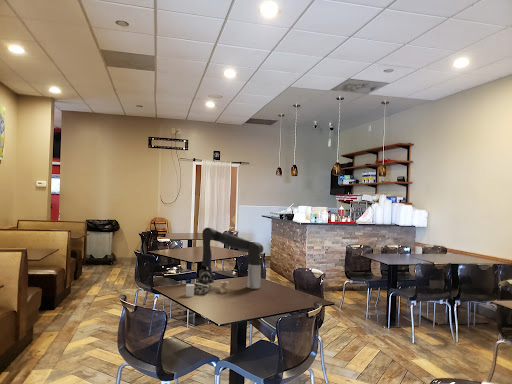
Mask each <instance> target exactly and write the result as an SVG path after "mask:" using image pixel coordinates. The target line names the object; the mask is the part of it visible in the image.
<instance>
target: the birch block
mask: <svg viewBox="0 0 512 384" xmlns="http://www.w3.org/2000/svg"><path fill="white" fill-rule="evenodd" d="M219 291H220V293H221V294H228V293H229V281H227V280H221V281H220V288H219Z"/></svg>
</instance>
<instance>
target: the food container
mask: <svg viewBox="0 0 512 384" xmlns="http://www.w3.org/2000/svg"><path fill="white" fill-rule="evenodd" d="M191 284H194V293H196V294H198V295H203V294H206V293H207V292H208V291H209V290H210V289H211V287H212V285H210V284H209V283H208V284H203V283H199V282H192V283H191Z"/></svg>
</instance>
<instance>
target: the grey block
mask: <svg viewBox="0 0 512 384" xmlns="http://www.w3.org/2000/svg"><path fill="white" fill-rule="evenodd" d="M185 287H186V288H185V297H188V298H189V297H191V298H193V297H194V295H195V291H194V284H192V283H187V284H186V286H185Z"/></svg>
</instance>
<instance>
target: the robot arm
mask: <svg viewBox="0 0 512 384" xmlns="http://www.w3.org/2000/svg"><path fill="white" fill-rule="evenodd" d="M201 238H202V258H201V259H202V260H201V265H202V266H203V267H206V268H207V269H206V268H202V269H200V270H199V271H198V277H199V278H197V277H196V283H203V284H208V285H209V284H213V283H215V278H212V277H213V270H212V250H211V241H215V242H219V243H221V244H223V245H225V246H227V247H230V248H232V249H236V250H237V249H239V250H244V251H245V250H246V251H247V261H248V268H247V270H248V271H247V288H248V289H251V290H252V289H253V290H255V289H257V290H258V289H261V281H262V280H261V277H262V275H261V267H262V261H261V260H260V259H261V258H260V255H261V254H262V253H263V252H264V246H263V245H262V243H260V242H255V241H252V240H247V239H244V238H243V237H239V236H238V235H237V236H236V235H233V234H230V233H223V232H220V231H218V230H216V229H214V228H211V227H205V228H204V229H202V237H201Z"/></svg>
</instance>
